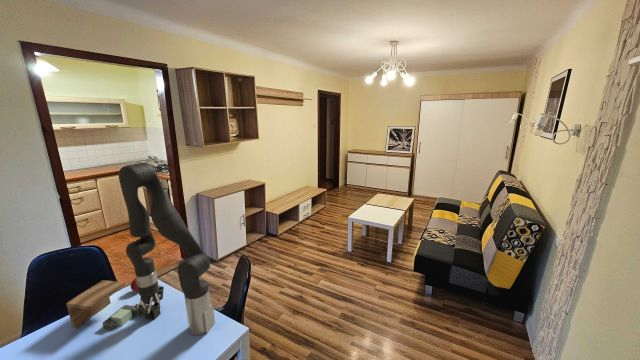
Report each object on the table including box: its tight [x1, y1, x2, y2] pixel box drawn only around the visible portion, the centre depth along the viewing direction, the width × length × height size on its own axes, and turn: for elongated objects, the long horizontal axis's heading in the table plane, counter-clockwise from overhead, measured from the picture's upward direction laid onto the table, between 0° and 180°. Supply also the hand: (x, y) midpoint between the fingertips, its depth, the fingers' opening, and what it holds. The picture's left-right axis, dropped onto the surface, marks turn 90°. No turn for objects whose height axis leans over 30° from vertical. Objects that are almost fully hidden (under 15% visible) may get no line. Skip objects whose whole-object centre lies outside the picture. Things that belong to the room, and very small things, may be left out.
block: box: [111, 308, 133, 327], centre depth 116 cm, size 5×5×4 cm
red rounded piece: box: [130, 277, 138, 292], centre depth 135 cm, size 6×6×8 cm
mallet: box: [101, 304, 161, 331], centre depth 116 cm, size 18×12×4 cm
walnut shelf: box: [65, 279, 126, 330], centre depth 117 cm, size 12×16×12 cm
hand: (153, 314), depth 119 cm, fingers open, 4 cm apart
